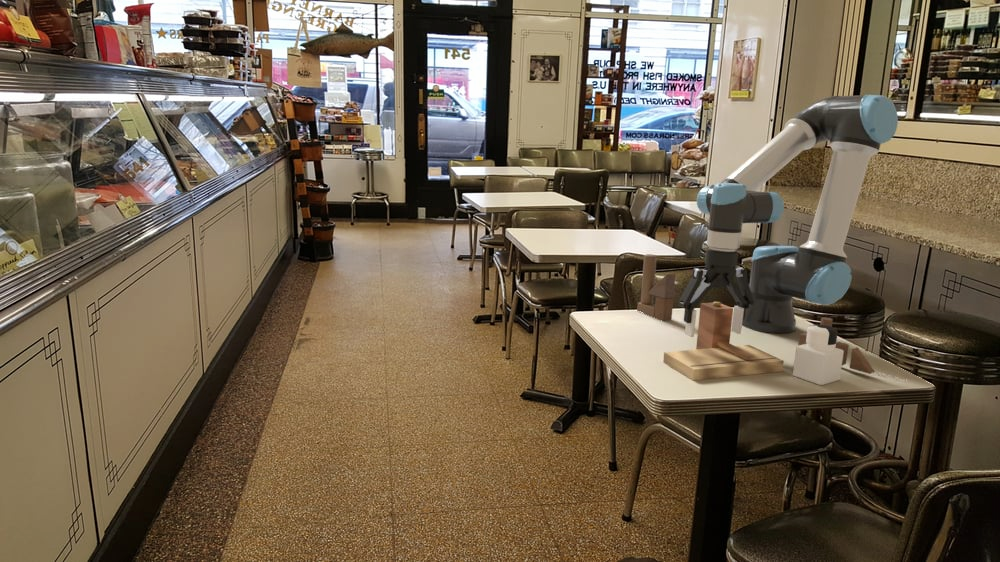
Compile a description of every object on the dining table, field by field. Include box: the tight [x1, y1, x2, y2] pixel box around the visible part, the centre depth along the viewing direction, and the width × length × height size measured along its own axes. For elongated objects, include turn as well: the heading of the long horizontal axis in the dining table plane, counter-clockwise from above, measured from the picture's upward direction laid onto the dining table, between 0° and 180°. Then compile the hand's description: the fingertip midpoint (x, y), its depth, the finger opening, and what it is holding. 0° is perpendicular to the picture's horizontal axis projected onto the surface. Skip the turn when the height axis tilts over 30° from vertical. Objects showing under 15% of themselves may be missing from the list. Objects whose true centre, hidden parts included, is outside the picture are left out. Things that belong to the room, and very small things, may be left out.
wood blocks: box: [797, 316, 908, 384], centre depth 160 cm, size 25×3×10 cm, turn 38°
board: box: [662, 344, 785, 381], centre depth 158 cm, size 24×12×3 cm, turn 109°
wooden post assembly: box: [636, 253, 677, 322], centre depth 197 cm, size 4×11×18 cm, turn 32°
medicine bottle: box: [792, 323, 844, 386], centre depth 152 cm, size 7×7×12 cm
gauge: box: [695, 301, 755, 360], centre depth 162 cm, size 5×17×13 cm, turn 19°
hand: (712, 334), depth 167 cm, fingers open, 13 cm apart
